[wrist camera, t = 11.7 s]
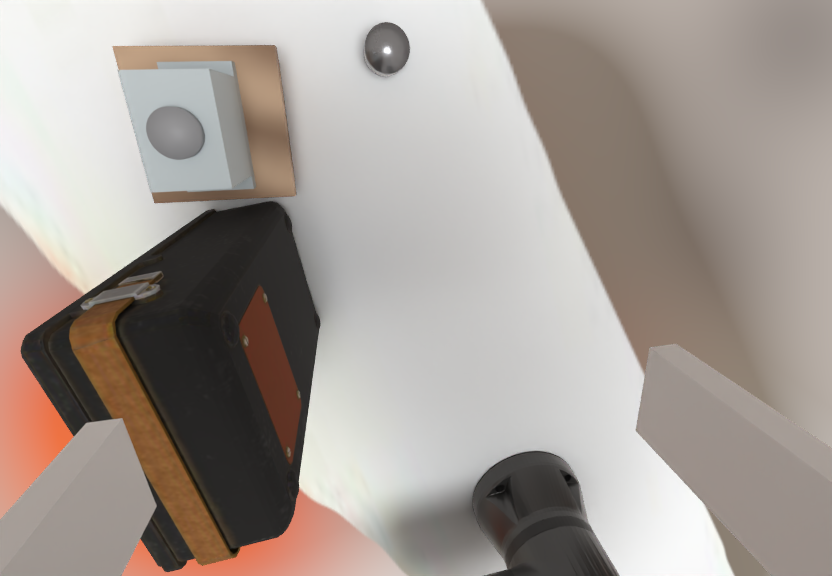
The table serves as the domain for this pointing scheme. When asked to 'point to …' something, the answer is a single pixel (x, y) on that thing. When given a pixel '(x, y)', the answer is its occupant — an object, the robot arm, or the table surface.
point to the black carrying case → (197, 377)
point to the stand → (259, 109)
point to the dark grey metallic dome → (386, 49)
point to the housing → (190, 126)
